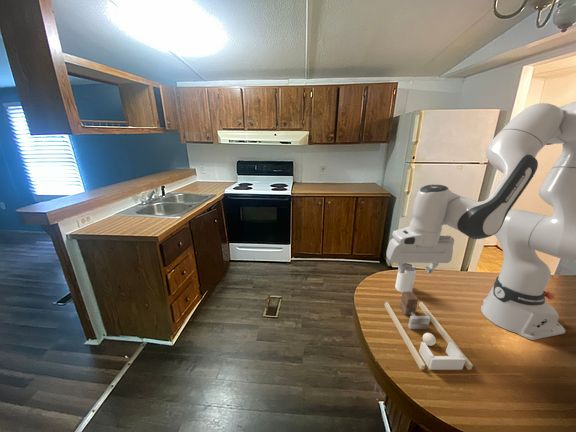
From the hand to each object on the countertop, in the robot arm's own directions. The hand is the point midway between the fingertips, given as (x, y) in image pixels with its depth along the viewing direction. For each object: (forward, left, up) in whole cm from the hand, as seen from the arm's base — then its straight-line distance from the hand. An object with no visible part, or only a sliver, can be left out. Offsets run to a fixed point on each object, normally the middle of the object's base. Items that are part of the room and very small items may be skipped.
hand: (414, 272), depth 78 cm
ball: (0, +13, -15) cm, 20 cm away
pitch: (0, +9, -18) cm, 20 cm away
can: (-5, -13, -18) cm, 23 cm away
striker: (0, +3, -17) cm, 17 cm away
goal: (0, +19, -17) cm, 26 cm away
